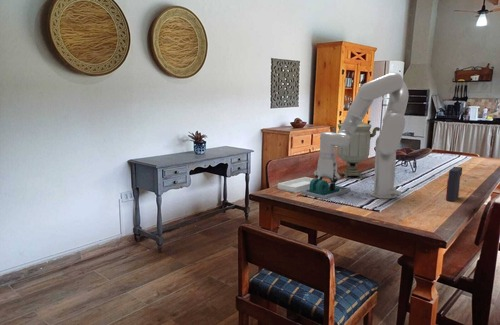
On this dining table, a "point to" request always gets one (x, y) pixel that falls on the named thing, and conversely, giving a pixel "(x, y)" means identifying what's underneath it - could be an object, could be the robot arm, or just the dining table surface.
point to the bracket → (321, 187)
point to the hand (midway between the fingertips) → (326, 188)
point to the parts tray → (295, 185)
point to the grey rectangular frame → (343, 190)
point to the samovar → (356, 147)
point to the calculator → (453, 183)
